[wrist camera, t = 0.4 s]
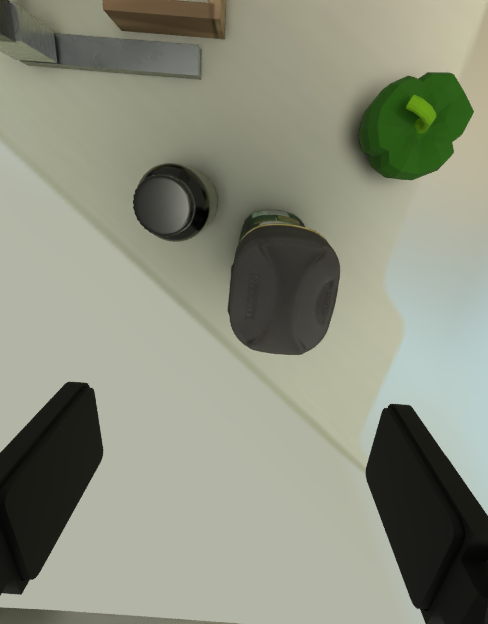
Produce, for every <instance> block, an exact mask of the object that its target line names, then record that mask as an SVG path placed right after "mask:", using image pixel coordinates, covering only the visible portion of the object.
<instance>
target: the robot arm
mask: <svg viewBox="0 0 488 624" xmlns="http://www.w3.org/2000/svg"><path fill="white" fill-rule="evenodd" d="M102 456H103V446H102V439H101V432H100V425H99V419H98V412H97V406H96V399H95V393H94V389H93V388H90V387H89V385H88V384H87V383H81V382H67V383H66V384H65V385H64V386H63V387H62V388H61V389H60V390H59V391H58V392H57V393H56V394H55V395H54V397H52V399H50V401H49V402H48V403H47V404H46V405H45V406H44V407H43V408H42V409H41V410H40V411H39V412H38V413H37V414H36V415H35V416H34V418H33V419H32V420H31V421H30V422H29V423H28V424H27V425H26V426H25V427H24V428H23V429H22V430H21V431H20V432H19V433H18V435H17V436H16V437H15V438H14V439H13V440H12V441H11V442H10V443H9V444H8V445H7V446H6V447H5V448H4V450H3V451H2V452H1V453H0V595H1V593H8V594H22V593H23V591H24V589H25V587H26V585H27V584H28V582H29V580H30V579H31V580H33V579H34V578H36V577H37V575H38V574H39V573H40V571H41V569H42V567H43V566H44V564H45V562H46V560H47V558H48V556H49V555H50V553H51V551H52V549H53V547H54V546H55V544H56V542H57V540H58V538H59V537H60V535H61V533H62V531H63V529H64V527H65V525H66V524H67V522H68V520H69V518H70V517H71V515H72V513H73V511H74V509H75V508H76V506H77V504H78V502H79V500H80V498H81V497H82V495H83V493H84V491H85V489H86V487H87V486H88V484H89V482H90V480H91V478H92V477H93V475H94V473H95V471H96V469H97V468H98V465H99V464H100V462H101V460H102ZM366 479H367V482H368V485H369V488H370V491H371V493H372V496H373V499H374V501H375V504H376V507H377V509H378V512H379V515H380V517H381V520H382V523H383V526H384V528H385V531H386V534H387V536H388V539H389V542H390V544H391V547H392V550H393V553H394V555H395V558H396V561H397V563H398V566H399V569H400V572H401V574H402V577H403V580H404V582H405V585H406V588H407V590H408V593H409V596H410V599H411V601H412V603H413V605H414V606H415V607H416V608H418V609H420V610H421V613H422V615H423V618H424V620H425V623H426V624H488V516H487V514H486V513H485V511H484V510H483V508H482V507H481V505H480V504H479V503H478V501H477V500H476V498H475V497H474V495H473V494H472V492H471V491H470V490H469V488H468V487H467V485H466V484H465V482H464V481H463V480H462V478H461V477H460V475H459V474H458V472H457V471H456V469H455V468H454V467H453V465H452V464H451V462H450V461H449V459H448V458H447V457H446V456H445V454H444V453H443V451H442V450H441V448H440V447H439V446H438V444H437V443H436V441H435V440H434V438H433V437H432V435H431V434H430V433H429V431H428V430H427V428H426V427H425V425H424V424H423V422H422V421H421V419H420V418H419V417H418V415H417V414H416V412H415V411H414V409H413V408H412V407H411V406H410V405H401V404H390V405H389V406H388V408H384V409H383V411H382V414H381V417H380V421H379V424H378V428H377V431H376V435H375V438H374V442H373V446H372V449H371V453H370V456H369V460H368V463H367V467H366ZM0 624H237V623H224V622H210V621H197V620H183V619H171V618H170V619H169V618H156V617H142V616H129V615H115V614H100V613H86V612H72V611H57V610H39V609H19V608H0Z"/></svg>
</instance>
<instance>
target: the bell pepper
mask: <svg viewBox="0 0 488 624" xmlns="http://www.w3.org/2000/svg"><path fill="white" fill-rule="evenodd" d="M473 112H474V111H473V109H472V107H471V105H470V103H469V100H468V99H467V96H466V94H465V93H464V91H463V89H462V87H461V86H460V84H459V82H458V81H457V79H456V77H455V76H454V74H451V73H431V72H428V73H426V74H425V75H423V76H422V77H420V78H419V79H417V78H415V77H411V76H407V77H404V78H402V79H400V80H398V81H395V82H393V83H391V84H390V85H388V86H387V87H386V88H384V89H383V90H382V91H381V92H380V94H379V95H378V96H377V97H376V99H375V100H374V101H373V103H372V104H371V105H370V106H369V108H368V109H367V110H366V111H365V113H364V116H363V119H362V123H361V127H360V131H359V135H358V137H359V141H360V145H361V150H362V152H364V153H367V154H369V157H370V165H371V167H372V168H374V169H375V170H376V171H377V172H379V173H380V174H381V175H383V176H384V177H386V178H394V179H401V180H413V179H416V178H419V177H421V176H424V175H427V174H429V173H432V172H434V171H437V170H438V169H439V168H440V167H441V166H442V165H443V164H444V163H445V162H446V161H447V160H448V159H449V158H450V157H451V155H452V154H453V153H454V150H453V145H452V142H453V141H454V140H456V139H457V138H458V137H460V135H462V133H463V132H464V130H465V128H466V126H467V124H468V122H469V120H470V118H471V117H472V115H473Z"/></svg>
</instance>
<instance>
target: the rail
mask: <svg viewBox="0 0 488 624" xmlns="http://www.w3.org/2000/svg"><path fill="white" fill-rule="evenodd" d="M54 39H55V47H56V55H57V63H52V62H40V61H27V60H20V61H21V62H23V63H25V64H27V65H30V66H43V67H55V68H67V69H80V70H92V71H104V72H116V73H129V74H141V75H153V76H166V77H178V78H190V79H201V48H200V46H199V45H193V44H181V43H169V42H156V41H144V40H131V39H119V38H107V37H94V36H82V35H70V34H57V33H54Z"/></svg>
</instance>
